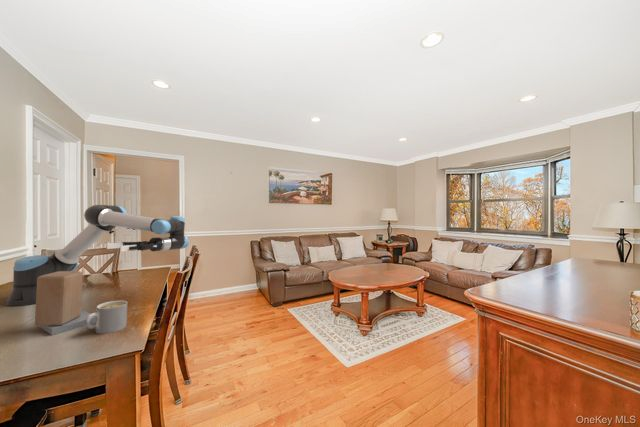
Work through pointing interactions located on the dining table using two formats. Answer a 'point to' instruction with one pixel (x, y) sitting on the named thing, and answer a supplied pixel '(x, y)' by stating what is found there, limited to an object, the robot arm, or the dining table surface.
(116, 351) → the dining table surface
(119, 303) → the coffee mug
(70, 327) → the stand
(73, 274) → the block
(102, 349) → the dining table surface
